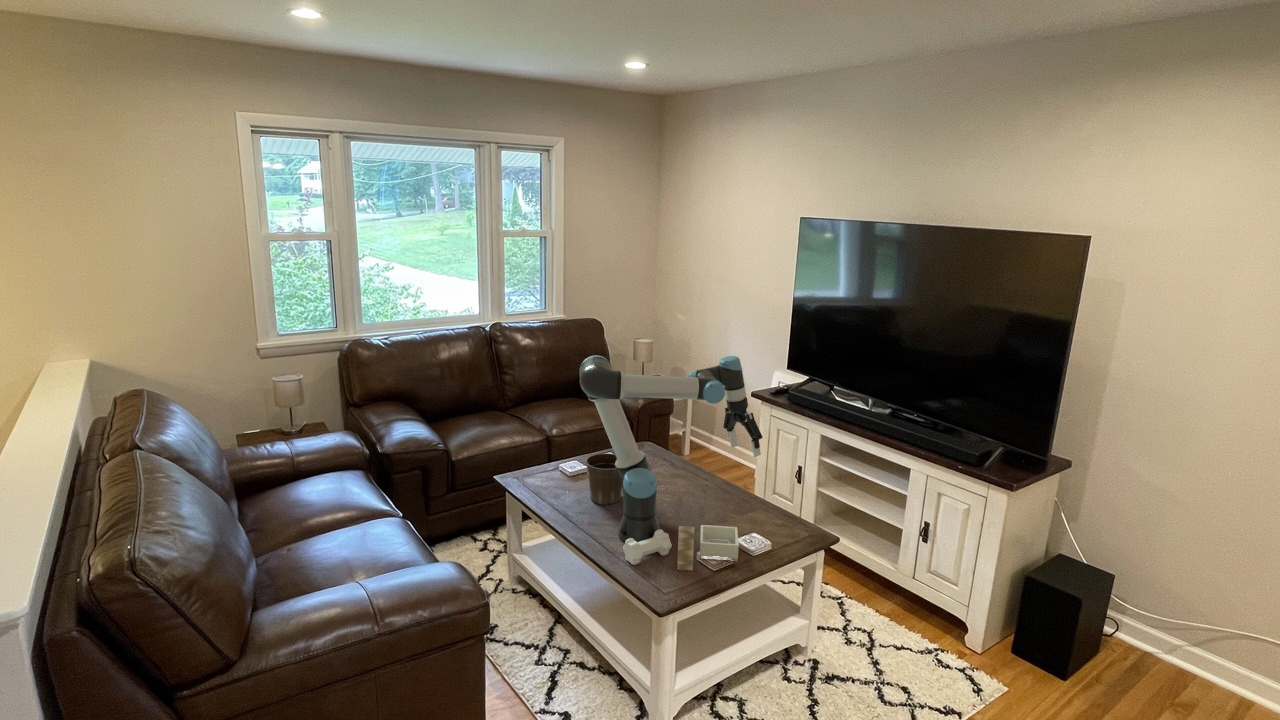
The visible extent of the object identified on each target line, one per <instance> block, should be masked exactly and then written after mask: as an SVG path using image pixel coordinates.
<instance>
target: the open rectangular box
mask: <svg viewBox="0 0 1280 720" xmlns="http://www.w3.org/2000/svg"><path fill="white" fill-rule="evenodd" d="M738 534H739V532H738V527H737V526H727V525H726V526H723V525H722V526H721V525H708V524H701V525H700V536H699V538H700V539H699V541H700V542H699V557H700V556H720V557H728V558H731V559H732V560H734V561H735V562H736V563H738V561H739V547H740V545H739V535H738ZM735 562H734V563H735Z"/></svg>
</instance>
